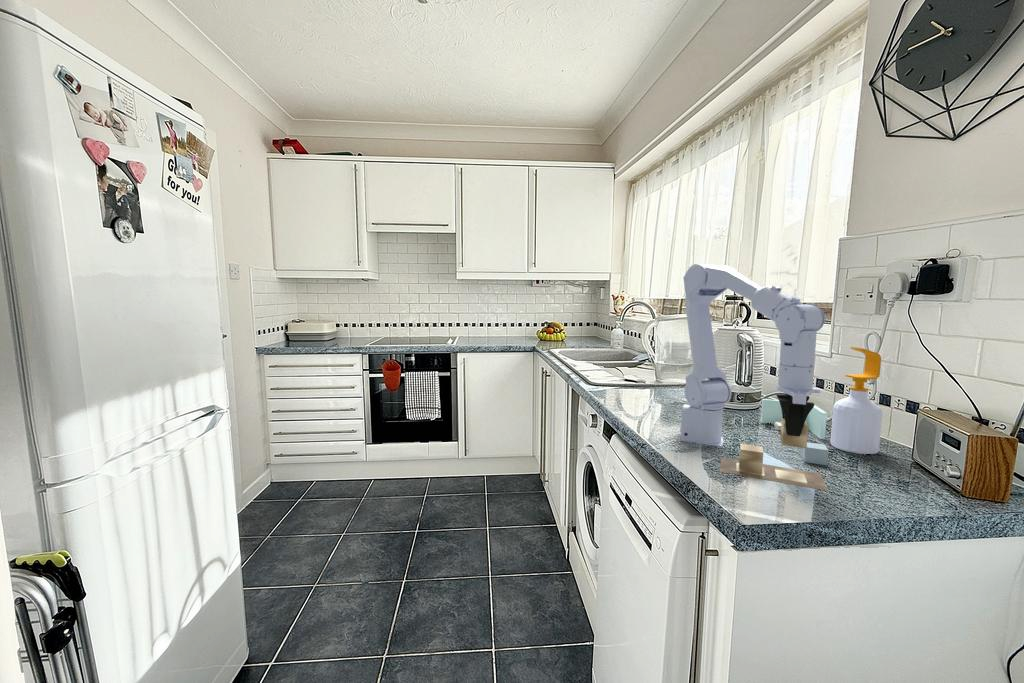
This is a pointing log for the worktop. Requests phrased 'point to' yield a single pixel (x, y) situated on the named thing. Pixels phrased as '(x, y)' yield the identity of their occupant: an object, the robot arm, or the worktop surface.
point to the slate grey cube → (815, 453)
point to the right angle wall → (774, 416)
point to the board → (777, 474)
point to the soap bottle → (858, 413)
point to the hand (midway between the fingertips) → (791, 432)
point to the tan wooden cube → (794, 437)
